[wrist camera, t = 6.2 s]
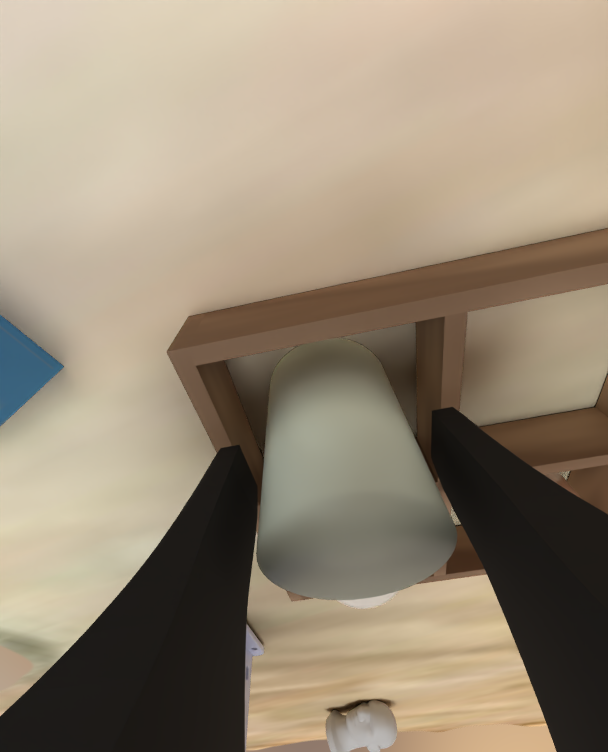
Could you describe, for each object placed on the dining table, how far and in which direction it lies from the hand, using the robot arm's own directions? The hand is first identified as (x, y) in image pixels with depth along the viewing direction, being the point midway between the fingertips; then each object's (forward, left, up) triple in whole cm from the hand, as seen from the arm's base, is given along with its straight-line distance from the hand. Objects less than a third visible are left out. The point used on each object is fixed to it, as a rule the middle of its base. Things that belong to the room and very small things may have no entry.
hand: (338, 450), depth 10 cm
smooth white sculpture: (-46, +4, -4) cm, 47 cm away
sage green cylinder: (0, 0, -3) cm, 3 cm away
